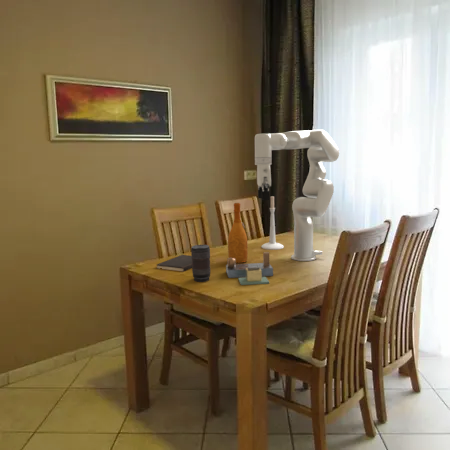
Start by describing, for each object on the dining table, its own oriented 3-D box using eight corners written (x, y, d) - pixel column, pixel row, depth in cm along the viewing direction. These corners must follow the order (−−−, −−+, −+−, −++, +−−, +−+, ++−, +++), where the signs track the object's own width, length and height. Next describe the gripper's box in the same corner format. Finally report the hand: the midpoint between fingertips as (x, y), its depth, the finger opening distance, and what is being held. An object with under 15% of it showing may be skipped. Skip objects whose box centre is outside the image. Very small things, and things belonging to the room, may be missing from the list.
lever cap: (259, 277, 193) (259, 265, 192) (261, 281, 188) (261, 268, 187) (245, 278, 192) (245, 266, 191) (247, 281, 187) (247, 269, 186)
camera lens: (192, 277, 198) (190, 244, 196) (210, 276, 199) (209, 244, 196) (192, 282, 190) (191, 248, 188) (211, 282, 191) (210, 247, 188)
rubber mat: (265, 278, 195) (265, 276, 194) (269, 283, 187) (269, 281, 187) (238, 279, 193) (238, 277, 193) (240, 285, 186) (240, 283, 185)
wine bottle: (246, 264, 220) (245, 203, 215) (226, 263, 222) (225, 203, 217) (249, 259, 229) (248, 201, 225) (230, 258, 231) (229, 201, 227)
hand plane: (268, 269, 208) (268, 250, 207) (273, 275, 198) (272, 254, 197) (226, 271, 206) (225, 252, 205) (228, 277, 196) (228, 256, 195)
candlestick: (287, 246, 259) (287, 195, 255) (277, 250, 249) (277, 197, 244) (267, 244, 266) (267, 194, 261) (257, 248, 256) (257, 196, 251)
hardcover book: (156, 269, 216) (156, 264, 216) (182, 259, 236) (182, 254, 236) (183, 272, 209) (183, 267, 208) (208, 261, 229) (208, 257, 228)
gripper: (275, 161, 193) (275, 200, 195) (267, 160, 210) (267, 197, 212) (258, 162, 192) (258, 201, 195) (251, 161, 209) (252, 197, 212)
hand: (263, 199), depth 204 cm, fingers open, 9 cm apart
